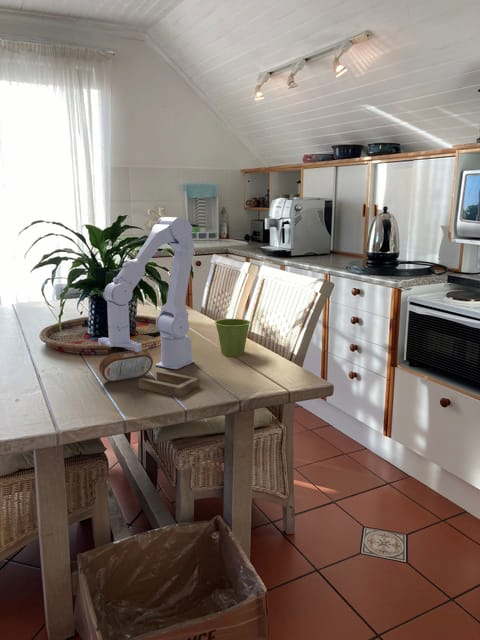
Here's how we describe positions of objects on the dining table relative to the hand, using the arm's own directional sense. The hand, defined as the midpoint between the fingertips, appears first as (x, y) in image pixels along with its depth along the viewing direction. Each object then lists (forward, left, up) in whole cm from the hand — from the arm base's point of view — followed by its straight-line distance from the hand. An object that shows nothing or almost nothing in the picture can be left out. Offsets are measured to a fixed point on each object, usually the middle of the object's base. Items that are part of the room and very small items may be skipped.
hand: (120, 372), depth 149 cm
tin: (0, +2, -1) cm, 2 cm away
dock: (0, +16, -2) cm, 16 cm away
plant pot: (-36, +15, -2) cm, 39 cm away
